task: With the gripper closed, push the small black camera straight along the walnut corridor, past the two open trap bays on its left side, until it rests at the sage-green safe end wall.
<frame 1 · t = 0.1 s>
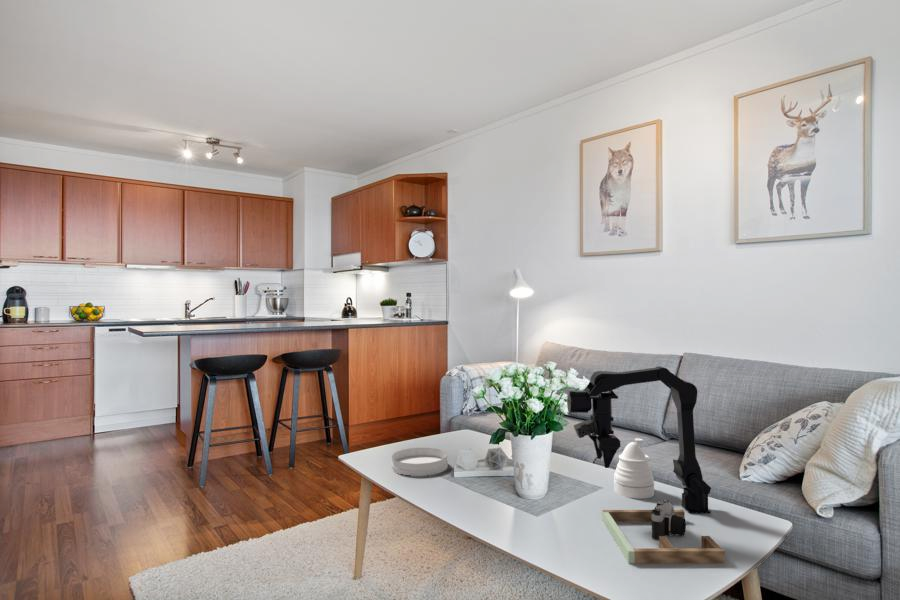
hand: (602, 463, 168), 15 cm above the table, tool pointing down, fingers open, 9 cm apart
trap box: (653, 534, 150), on the table
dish: (419, 468, 213), on the table
camera: (669, 535, 150), on the table
honey pot: (633, 492, 183), on the table
safe end wall: (616, 539, 147), on the table
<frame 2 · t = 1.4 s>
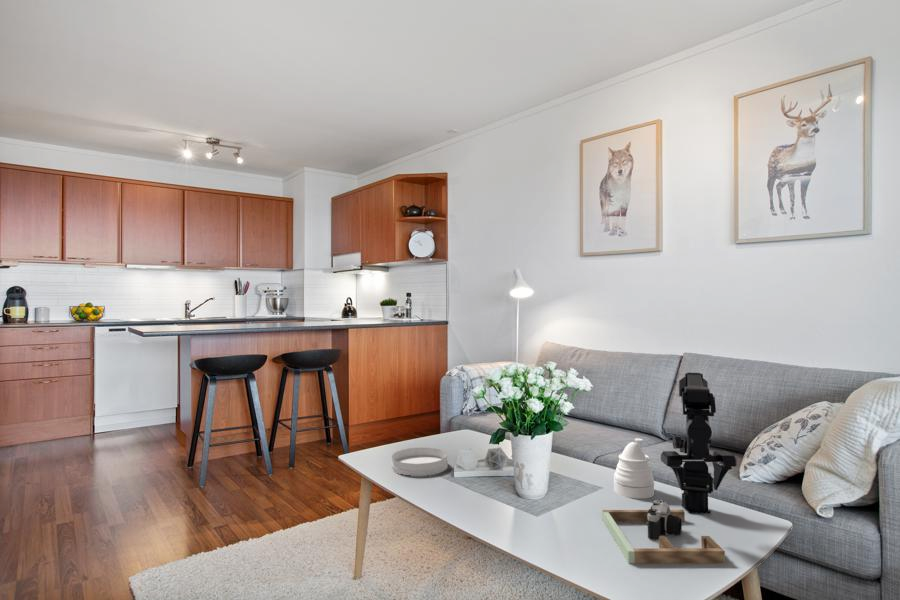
hand: (698, 489, 151), 12 cm above the table, tool pointing down, fingers open, 9 cm apart
camera: (665, 534, 151), on the table
everything else where it was.
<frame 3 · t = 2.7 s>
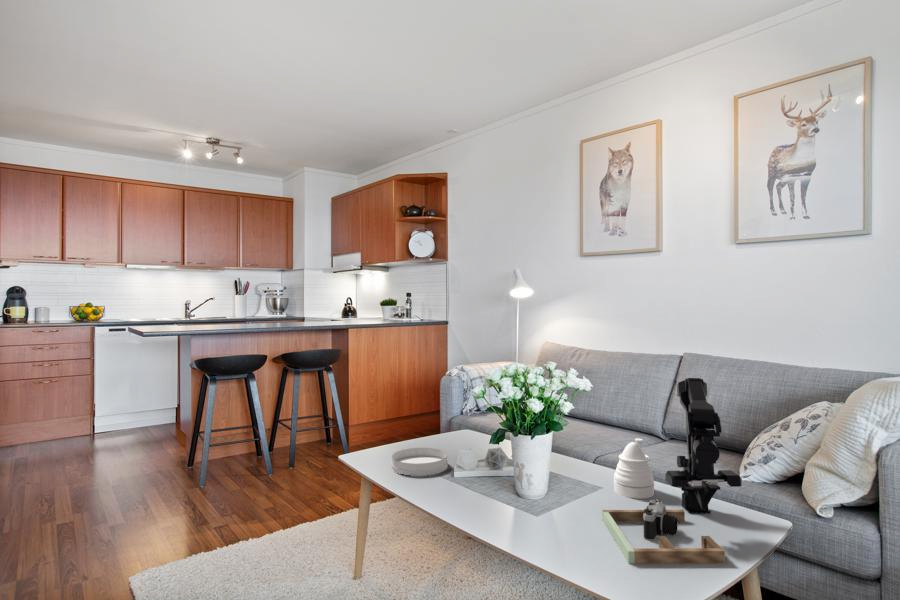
hand: (703, 509, 150), 7 cm above the table, tool pointing down, fingers closed
camera: (661, 534, 151), on the table
everything else where it was.
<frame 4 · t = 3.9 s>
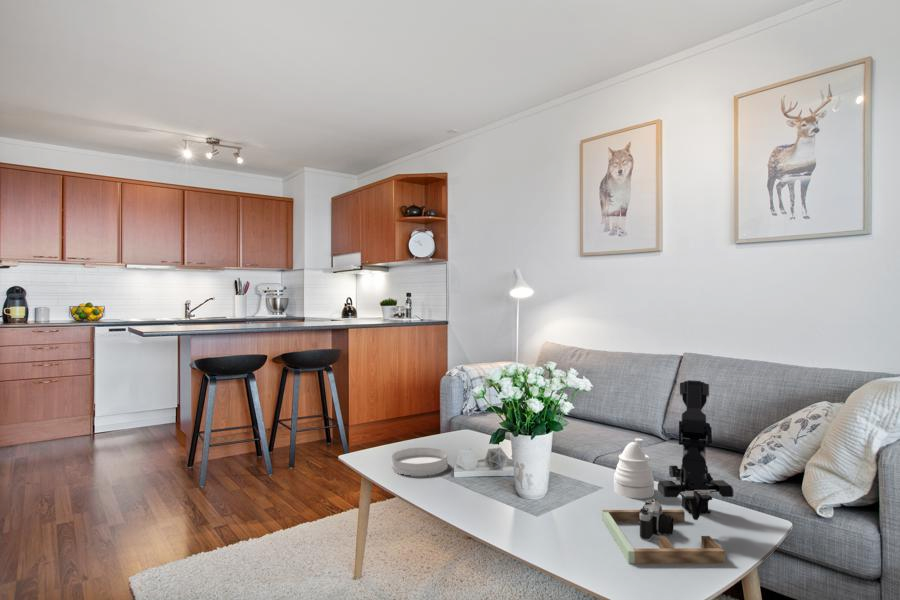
hand: (695, 519, 150), 4 cm above the table, tool pointing down, fingers closed
nothing on the table moved.
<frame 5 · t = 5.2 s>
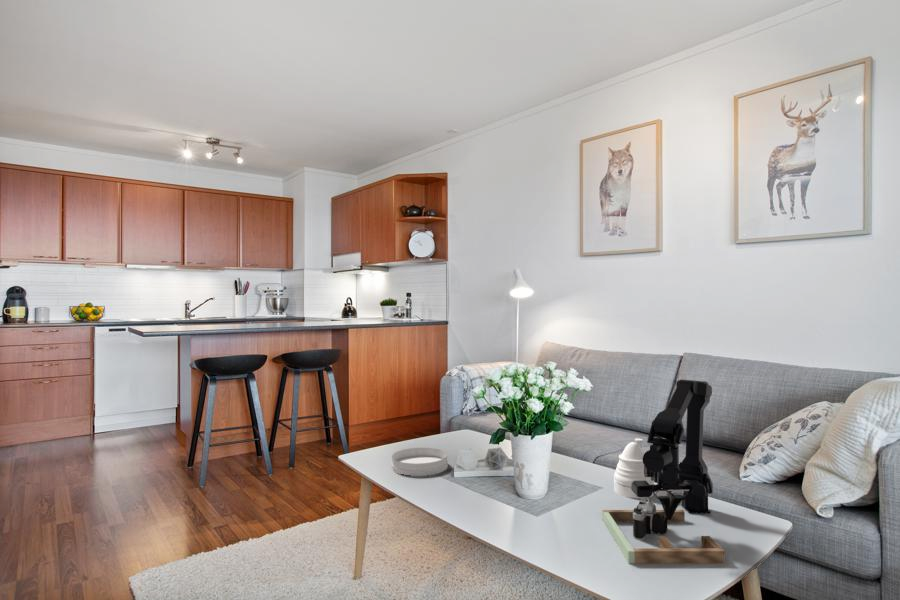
hand: (668, 519, 150), 4 cm above the table, tool pointing down, fingers closed
camera: (651, 533, 151), on the table, touching gripper
everything else where it was.
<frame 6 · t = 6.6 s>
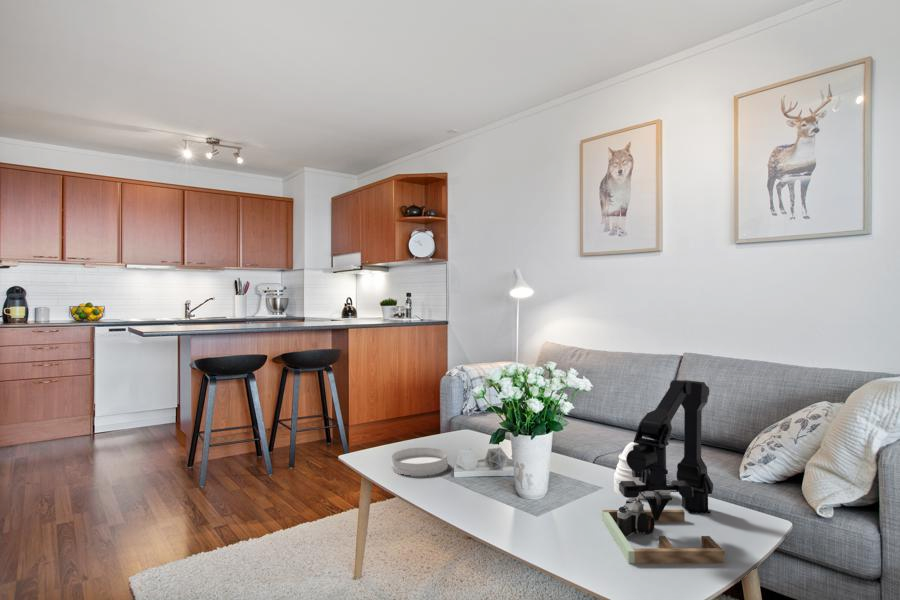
hand: (656, 519, 150), 4 cm above the table, tool pointing down, fingers closed
camera: (637, 532, 152), on the table
everything else where it was.
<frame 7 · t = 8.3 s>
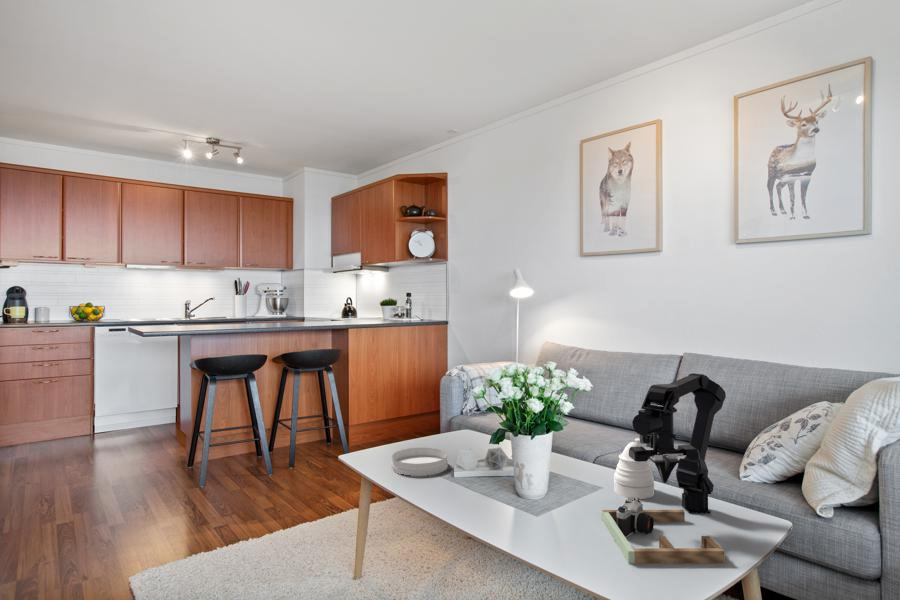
hand: (664, 482, 158), 12 cm above the table, tool pointing down, fingers closed
nothing on the table moved.
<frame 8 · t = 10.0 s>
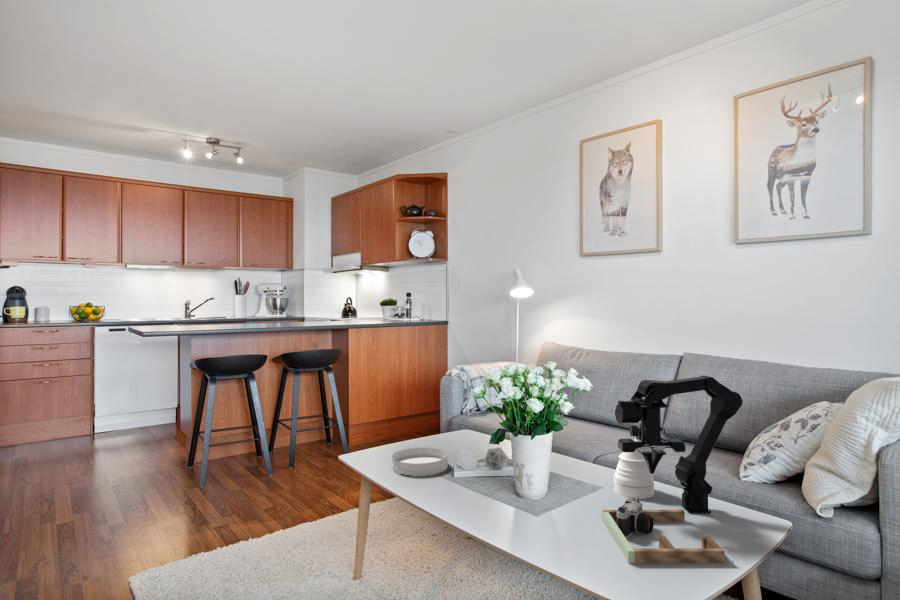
hand: (651, 473, 165), 12 cm above the table, tool pointing down, fingers closed
camera: (636, 532, 152), on the table, touching trap box
everything else where it was.
at the end: camera inside the target area (1.9 cm from its centre), on the table; camera tilted 0°; camera moved 9.0 cm from its start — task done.
